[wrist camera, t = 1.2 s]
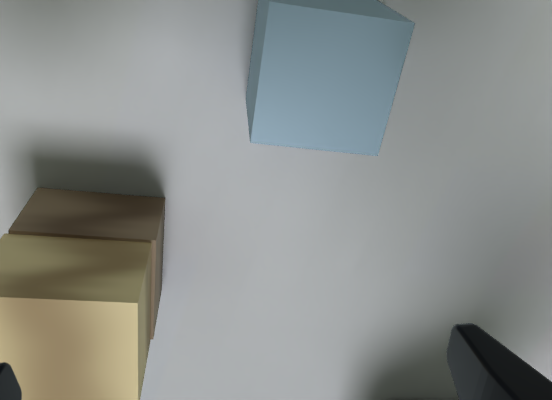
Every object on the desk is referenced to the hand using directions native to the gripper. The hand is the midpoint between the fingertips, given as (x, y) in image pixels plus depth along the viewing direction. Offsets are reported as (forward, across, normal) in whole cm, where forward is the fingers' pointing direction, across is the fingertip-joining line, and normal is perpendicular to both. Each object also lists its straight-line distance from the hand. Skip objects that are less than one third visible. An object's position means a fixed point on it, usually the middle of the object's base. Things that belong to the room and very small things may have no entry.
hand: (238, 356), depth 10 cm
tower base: (+13, +6, +6) cm, 15 cm away
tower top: (+9, +7, +6) cm, 13 cm away
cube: (+13, -3, -3) cm, 13 cm away
